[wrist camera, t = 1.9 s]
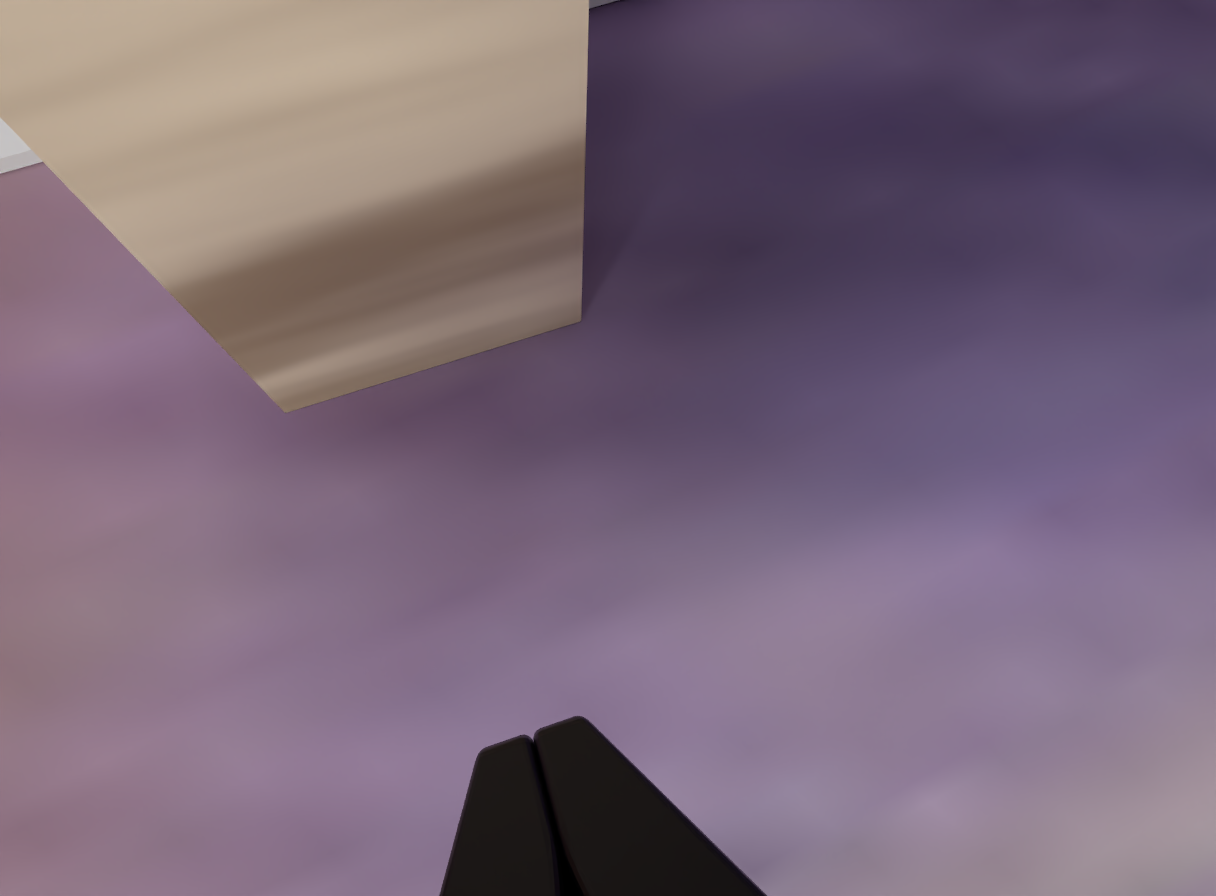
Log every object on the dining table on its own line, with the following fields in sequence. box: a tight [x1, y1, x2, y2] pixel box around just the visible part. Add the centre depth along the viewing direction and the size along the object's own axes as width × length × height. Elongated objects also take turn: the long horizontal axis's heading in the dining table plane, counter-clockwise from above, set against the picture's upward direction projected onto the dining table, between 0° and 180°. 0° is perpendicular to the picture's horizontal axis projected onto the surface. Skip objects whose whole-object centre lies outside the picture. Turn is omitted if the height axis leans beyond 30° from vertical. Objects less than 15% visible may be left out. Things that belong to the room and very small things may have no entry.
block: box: [0, 0, 589, 413], centre depth 13 cm, size 5×5×12 cm
